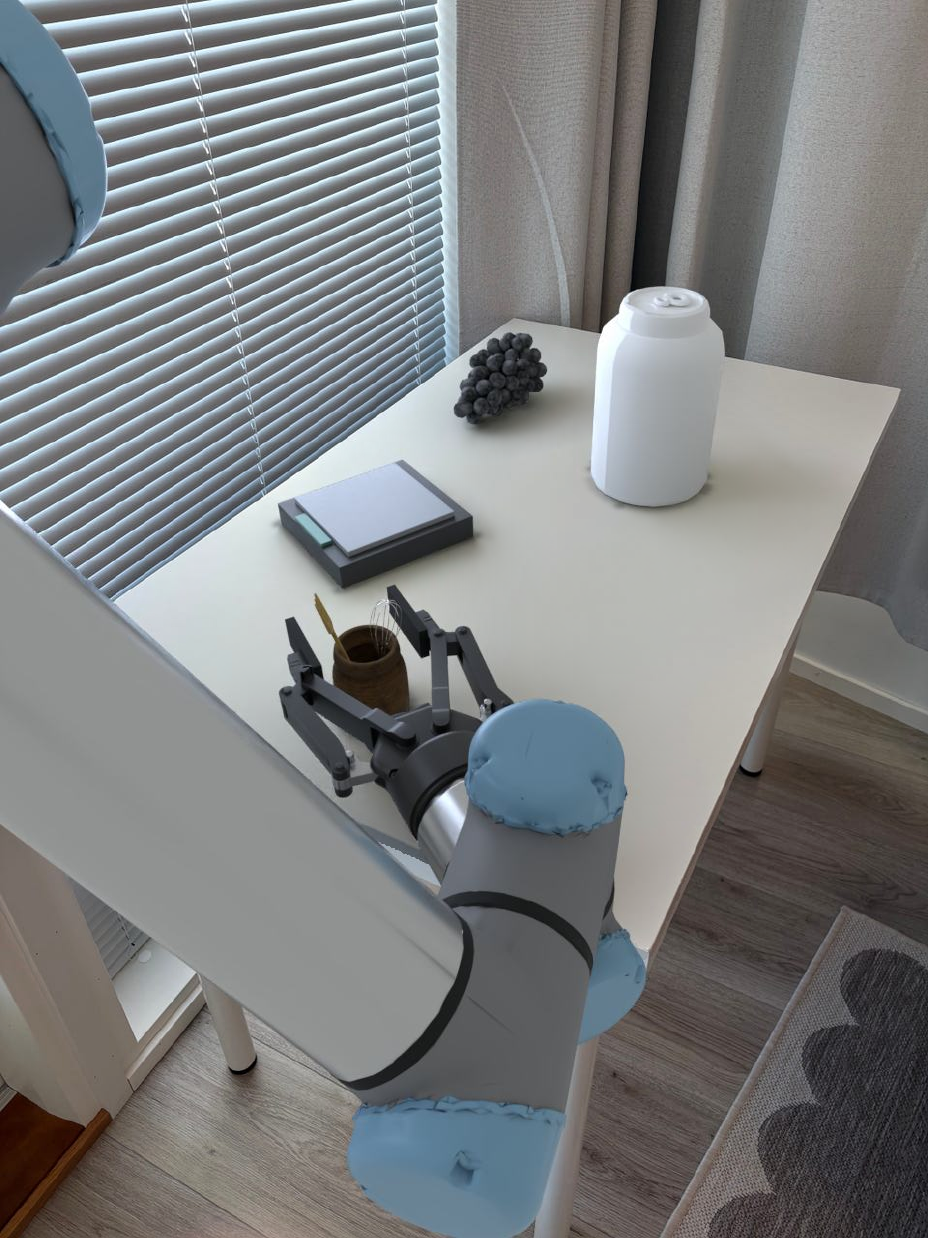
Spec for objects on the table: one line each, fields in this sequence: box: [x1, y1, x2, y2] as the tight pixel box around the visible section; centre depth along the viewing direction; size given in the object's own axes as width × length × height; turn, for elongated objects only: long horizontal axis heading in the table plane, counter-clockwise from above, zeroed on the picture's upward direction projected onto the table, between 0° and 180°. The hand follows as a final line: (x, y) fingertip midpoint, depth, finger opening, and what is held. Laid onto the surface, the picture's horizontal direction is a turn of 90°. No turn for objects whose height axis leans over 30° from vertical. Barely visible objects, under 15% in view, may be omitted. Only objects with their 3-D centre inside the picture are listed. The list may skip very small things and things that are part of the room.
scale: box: [277, 459, 475, 590], centre depth 97 cm, size 15×14×3 cm
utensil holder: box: [313, 592, 410, 716], centre depth 74 cm, size 6×6×12 cm
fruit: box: [453, 331, 548, 425], centre depth 116 cm, size 9×8×15 cm
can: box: [590, 285, 726, 508], centre depth 97 cm, size 12×12×20 cm
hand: (343, 614), depth 77 cm, fingers open, 8 cm apart
